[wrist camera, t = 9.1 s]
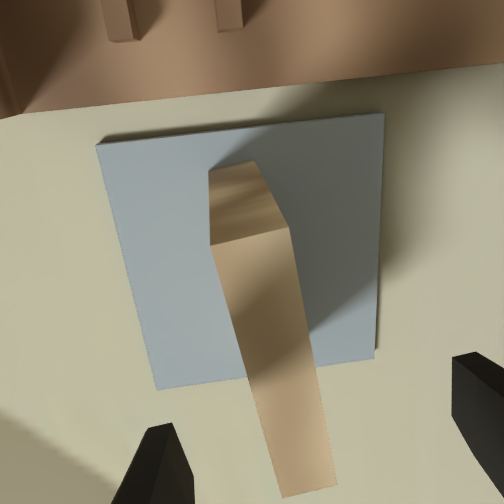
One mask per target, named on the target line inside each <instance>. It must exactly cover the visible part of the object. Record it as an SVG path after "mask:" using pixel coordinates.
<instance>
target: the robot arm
mask: <svg viewBox="0 0 504 504" xmlns="http://www.w3.org/2000/svg"><path fill="white" fill-rule="evenodd" d="M452 417H453V419H454V421H455V423H456V425H457V426H458V428H459V430H460V432H461V434H462V436H463V437H464V439H465V441H466V443H467V444H468V446H469V448H470V450H471V451H472V453H473V455H474V456H475V458H476V459H477V461H478V462H479V464H480V465H481V466H482V468H483V469H484V471H485V472H486V473H487V475H488V476H489V478H490V479H491V481H492V482H493V483H494V485H495V486H496V488H497V489H498V490H499V492H500V493H501V495H502V496H503V497H504V368H502V367H501V366H499V365H497V364H496V363H494V362H493V361H491V360H489V359H488V358H486V357H484V356H482V355H481V354H479V353H477V352H472V353H468V354H463V355H459V356H455V357H452ZM111 504H195V495H194V476H193V473H192V471H191V468H190V466H189V463H188V461H187V458H186V456H185V453H184V451H183V448H182V446H181V444H180V441H179V439H178V436H177V434H176V431H175V429H174V426H173V424H172V423H167V424H163V425H159V426H155V427H150V428H148V429H147V431H146V432H145V434H144V436H143V438H142V440H141V443H140V445H139V447H138V449H137V451H136V453H135V456H134V458H133V460H132V462H131V464H130V466H129V468H128V470H127V472H126V475H125V477H124V479H123V481H122V483H121V485H120V487H119V489H118V491H117V493H116V495H115V497H114V499H113V501H112V503H111Z"/></svg>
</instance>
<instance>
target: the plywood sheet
mask: <svg viewBox="0 0 504 504" xmlns="http://www.w3.org/2000/svg"><path fill="white" fill-rule="evenodd" d="M208 185H209V224H210V247H211V251H212V254H213V258H214V261H215V265H216V268H217V272H218V275H219V279H220V282H221V286H222V289H223V293H224V296H225V300H226V303H227V307H228V310H229V314H230V317H231V321H232V324H233V328H234V331H235V335H236V338H237V342H238V345H239V349H240V352H241V356H242V359H243V363H244V366H245V370H246V373H247V377H248V380H249V384H250V387H251V391H252V394H253V398H254V401H255V405H256V408H257V412H258V415H259V419H260V422H261V426H262V429H263V433H264V436H265V440H266V443H267V447H268V450H269V454H270V457H271V461H272V464H273V468H274V471H275V475H276V478H277V482H278V485H279V489H280V492H281V496H282V498H286V497H290V496H294V495H298V494H302V493H306V492H311V491H315V490H319V489H323V488H327V487H331V486H335V485H337V479H336V474H335V469H334V463H333V458H332V453H331V448H330V442H329V437H328V432H327V426H326V421H325V416H324V411H323V405H322V400H321V395H320V389H319V384H318V379H317V374H316V368H315V363H314V358H313V352H312V347H311V342H310V337H309V331H308V326H307V321H306V315H305V310H304V305H303V300H302V294H301V289H300V284H299V278H298V273H297V268H296V263H295V257H294V252H293V247H292V242H291V236H290V231H289V227H288V225H287V223H286V221H285V219H284V217H283V215H282V213H281V211H280V209H279V207H278V205H277V203H276V201H275V200H274V198H273V196H272V194H271V192H270V190H269V188H268V186H267V184H266V182H265V180H264V178H263V176H262V174H261V173H260V171H259V169H258V167H257V165H256V163H255V161H254V160H251V161H247V162H243V163H239V164H234V165H230V166H226V167H222V168H218V169H214V170H209V171H208Z"/></svg>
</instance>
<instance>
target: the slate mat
mask: <svg viewBox="0 0 504 504" xmlns="http://www.w3.org/2000/svg"><path fill="white" fill-rule="evenodd" d="M384 121H385V113H382V112H375V113H366V114H357V115H348V116H339V117H330V118H321V119H312V120H303V121H294V122H285V123H276V124H267V125H258V126H249V127H240V128H231V129H222V130H213V131H204V132H195V133H186V134H177V135H168V136H159V137H150V138H141V139H132V140H123V141H115V142H106V143H98V144H96V145H95V147H96V151H97V155H98V159H99V163H100V167H101V171H102V175H103V179H104V183H105V187H106V191H107V195H108V199H109V203H110V207H111V211H112V215H113V219H114V223H115V227H116V231H117V235H118V239H119V243H120V246H121V250H122V254H123V258H124V262H125V266H126V270H127V274H128V278H129V282H130V286H131V290H132V294H133V298H134V302H135V306H136V310H137V314H138V318H139V322H140V326H141V330H142V334H143V338H144V342H145V346H146V350H147V354H148V358H149V362H150V366H151V370H152V374H153V378H154V382H155V386H156V390H163V389H170V388H177V387H184V386H191V385H197V384H204V383H211V382H218V381H225V380H232V379H239V378H246V377H247V373H246V370H245V366H244V363H243V359H242V356H241V352H240V349H239V345H238V342H237V338H236V335H235V331H234V328H233V324H232V321H231V317H230V314H229V310H228V307H227V303H226V300H225V296H224V293H223V289H222V286H221V282H220V279H219V275H218V272H217V268H216V265H215V261H214V258H213V254H212V251H211V247H210V224H209V185H208V171H209V170H214V169H218V168H222V167H226V166H230V165H234V164H239V163H243V162H247V161H251V160H254V161H255V163H256V165H257V167H258V169H259V171H260V173H261V174H262V176H263V178H264V180H265V182H266V184H267V186H268V188H269V190H270V192H271V194H272V196H273V198H274V200H275V201H276V203H277V205H278V207H279V209H280V211H281V213H282V215H283V217H284V219H285V221H286V223H287V225H288V227H289V231H290V236H291V242H292V247H293V252H294V257H295V263H296V268H297V273H298V278H299V284H300V289H301V294H302V300H303V305H304V310H305V315H306V321H307V326H308V331H309V337H310V342H311V347H312V352H313V358H314V363H315V367H321V366H328V365H335V364H342V363H349V362H356V361H362V360H369V359H374V353H375V330H376V307H377V284H378V260H379V237H380V214H381V191H382V168H383V144H384Z"/></svg>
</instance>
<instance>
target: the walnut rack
mask: <svg viewBox="0 0 504 504" xmlns="http://www.w3.org/2000/svg"><path fill="white" fill-rule="evenodd" d="M495 63H504V0H0V119H4V118H8V117H11V116H15V115H19V114H24V113H34V112H43V111H53V110H62V109H72V108H81V107H90V106H100V105H109V104H119V103H128V102H137V101H147V100H156V99H166V98H175V97H185V96H194V95H203V94H213V93H222V92H232V91H241V90H250V89H260V88H269V87H279V86H288V85H298V84H307V83H316V82H326V81H335V80H345V79H354V78H363V77H373V76H382V75H392V74H401V73H411V72H420V71H429V70H439V69H448V68H458V67H467V66H476V65H486V64H495Z"/></svg>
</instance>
